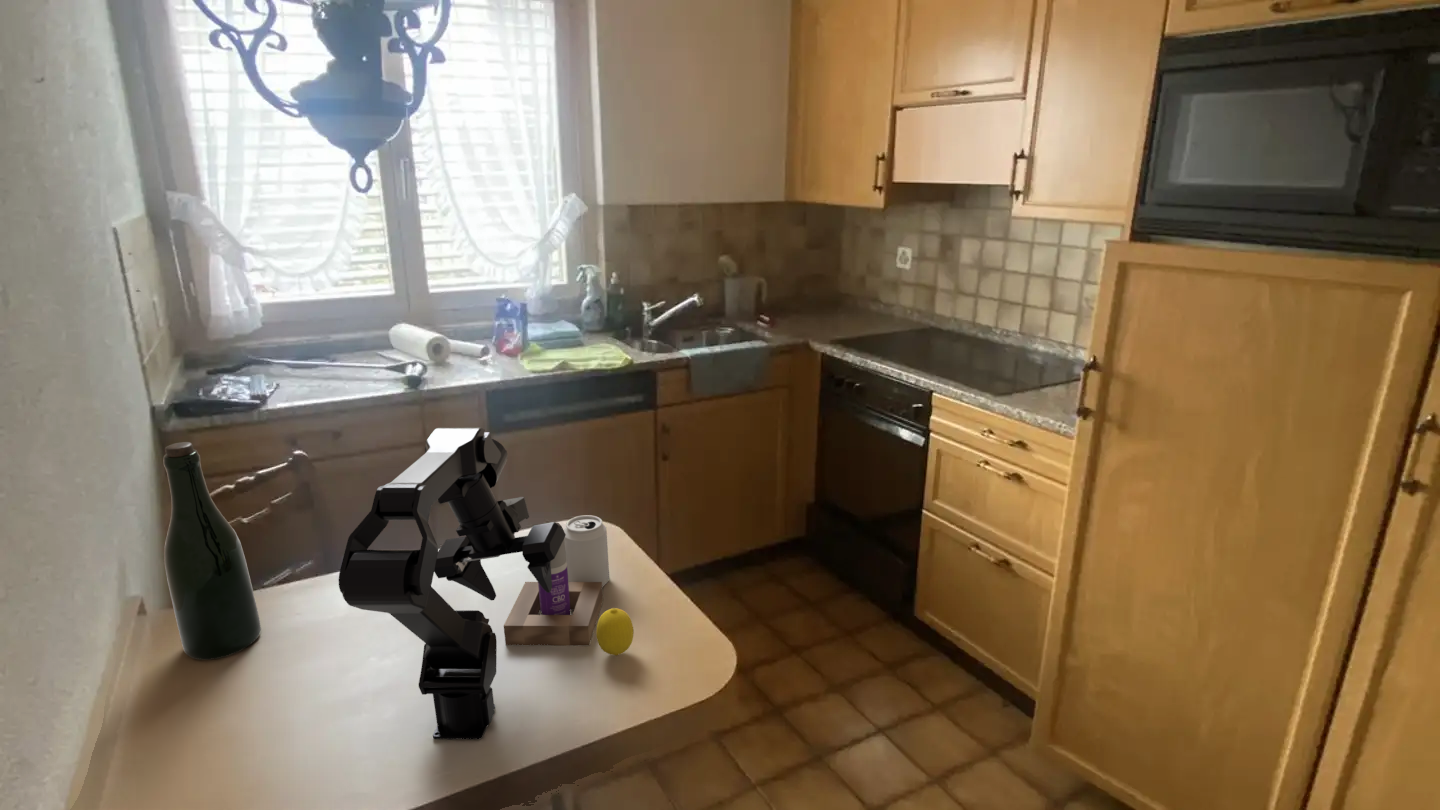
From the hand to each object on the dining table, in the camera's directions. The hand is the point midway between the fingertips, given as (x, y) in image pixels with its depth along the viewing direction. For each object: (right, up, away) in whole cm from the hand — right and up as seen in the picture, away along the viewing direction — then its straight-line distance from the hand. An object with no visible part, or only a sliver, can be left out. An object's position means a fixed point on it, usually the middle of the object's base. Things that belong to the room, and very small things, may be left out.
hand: (521, 594), depth 115 cm
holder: (+2, -8, +13) cm, 15 cm away
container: (+2, -8, +13) cm, 15 cm away
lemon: (+13, -10, +4) cm, 17 cm away
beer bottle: (-49, -10, +9) cm, 50 cm away
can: (+6, -4, +24) cm, 25 cm away
